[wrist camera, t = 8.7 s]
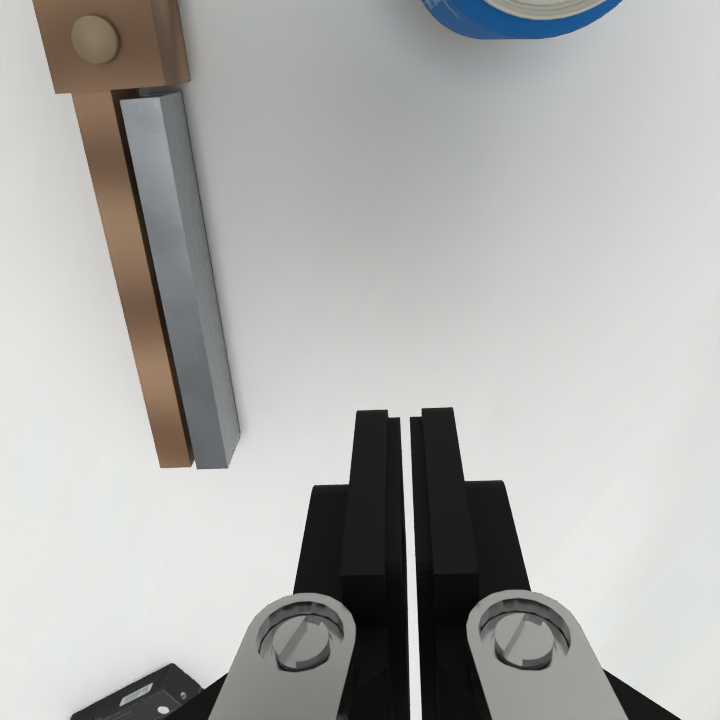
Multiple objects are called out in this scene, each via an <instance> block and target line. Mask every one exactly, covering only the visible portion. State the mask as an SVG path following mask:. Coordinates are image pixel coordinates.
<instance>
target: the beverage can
mask: <svg viewBox="0 0 720 720" xmlns="http://www.w3.org/2000/svg"><path fill="white" fill-rule="evenodd" d="M422 1H423V3H424V4H425V6H426V8H427V9H428V10H429V11H430V12H431V14H432V15H433V16H434V17H435V18H436V19H437V20H438V21H439V22H440V23H442V24H443V25H444V26H446V27H447V28H449V29H450V30H452V31H454V32H456V33H458V34H461V35H464V36H467V37H470V38H477V39H542V38H550V37H556V36H559V35H563V34H567V33H570V32H573V31H575V30H578V29H580V28H582V27H585V26H587V25H589V24H590V23H592V22H594V21H596V20H597V19H599V18H601V17H602V16H603V15H605V14H606V13H608V12H609V11H610V10H612V9H613V8H614V7H616V6H617V5H618V4H619V3H620V2H621V1H622V0H422Z"/></svg>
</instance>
